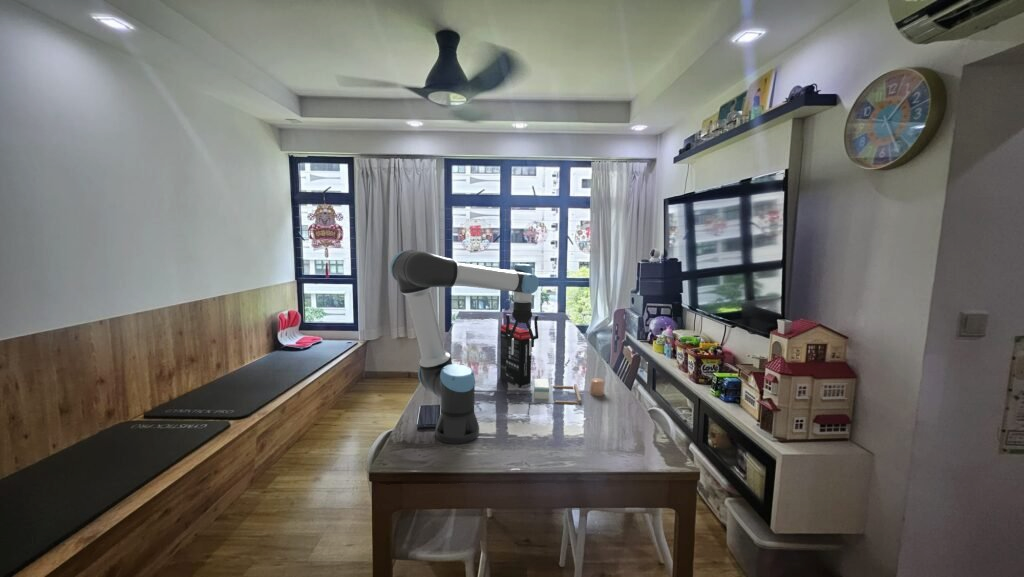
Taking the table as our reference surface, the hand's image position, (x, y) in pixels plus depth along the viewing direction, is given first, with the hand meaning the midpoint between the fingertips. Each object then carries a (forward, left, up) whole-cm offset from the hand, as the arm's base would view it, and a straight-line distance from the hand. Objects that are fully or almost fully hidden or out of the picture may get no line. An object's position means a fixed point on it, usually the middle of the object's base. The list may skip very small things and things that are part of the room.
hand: (521, 354), depth 175 cm
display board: (0, -15, -19) cm, 24 cm away
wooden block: (+7, -34, -19) cm, 40 cm away
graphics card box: (+14, +3, -19) cm, 24 cm away
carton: (0, -9, -18) cm, 20 cm away
